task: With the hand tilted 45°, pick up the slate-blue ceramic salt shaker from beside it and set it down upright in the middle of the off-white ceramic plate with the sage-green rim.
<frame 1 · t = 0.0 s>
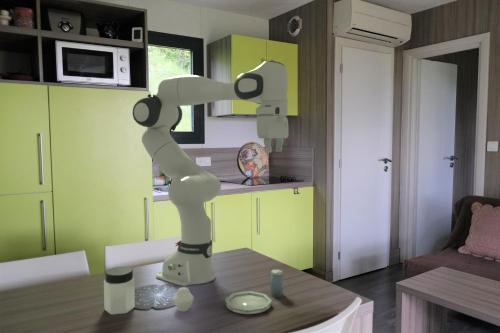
hand: (273, 152, 134), 48 cm above the table, tool pointing down, fingers open, 8 cm apart
shaker: (276, 294, 134), on the table
jar: (119, 309, 123), on the table
plate: (248, 305, 126), on the table
muffin: (183, 309, 123), on the table
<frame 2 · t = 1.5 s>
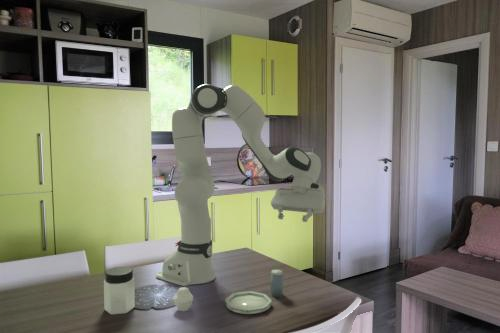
hand: (292, 219, 143), 23 cm above the table, tool tilted 45°, fingers open, 8 cm apart
nothing on the table moved.
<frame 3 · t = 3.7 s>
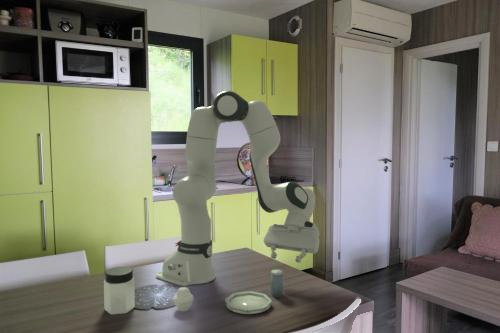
hand: (285, 259, 140), 10 cm above the table, tool tilted 45°, fingers open, 8 cm apart
nothing on the table moved.
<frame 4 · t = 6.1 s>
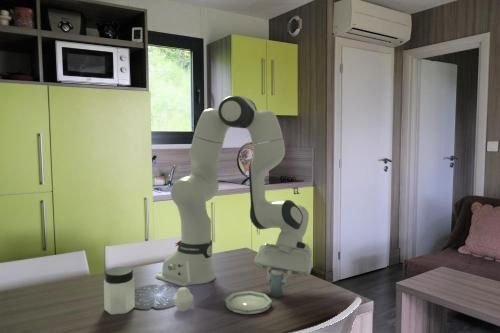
hand: (276, 282, 134), 4 cm above the table, tool tilted 45°, fingers closed on shaker, 4 cm apart
shaker: (276, 294, 134), on the table, touching gripper
everything else where it was.
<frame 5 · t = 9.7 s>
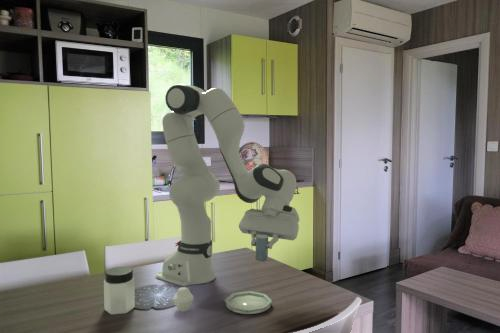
hand: (260, 246, 128), 18 cm above the table, tool tilted 45°, fingers closed on shaker, 4 cm apart
shaker: (261, 259, 129), point 14 cm above the table, touching gripper
everything else where it was.
when the fingers open (7 cm above the table, at t = 13.3 s): shaker drops 1 cm, resting on plate.
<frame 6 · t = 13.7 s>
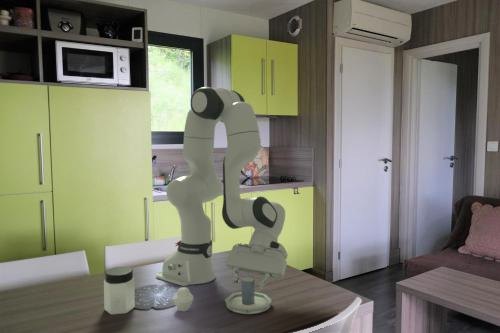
hand: (247, 284, 125), 7 cm above the table, tool tilted 45°, fingers open, 8 cm apart
shaker: (248, 302, 126), point 1 cm above the table, touching plate
everything else where it was.
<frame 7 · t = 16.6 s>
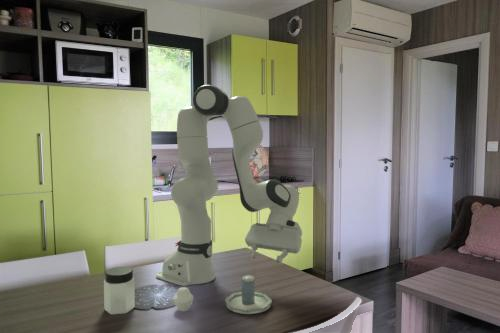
hand: (266, 259, 136), 11 cm above the table, tool tilted 45°, fingers open, 8 cm apart
nothing on the table moved.
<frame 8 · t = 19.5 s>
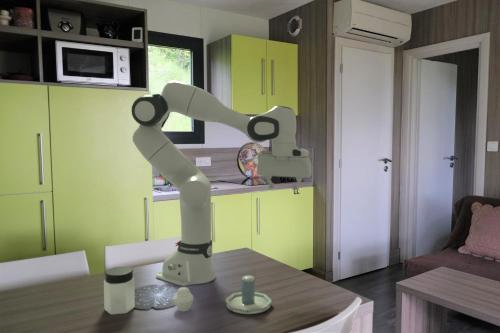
hand: (283, 188, 146), 34 cm above the table, tool pointing down, fingers open, 8 cm apart
nothing on the table moved.
at the end: shaker 0.1 cm off-centre on the plate, point 1.0 cm above the plate's base; shaker tilted 0°; the gripper is holding nothing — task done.
